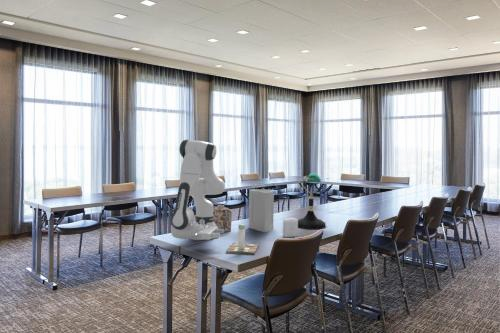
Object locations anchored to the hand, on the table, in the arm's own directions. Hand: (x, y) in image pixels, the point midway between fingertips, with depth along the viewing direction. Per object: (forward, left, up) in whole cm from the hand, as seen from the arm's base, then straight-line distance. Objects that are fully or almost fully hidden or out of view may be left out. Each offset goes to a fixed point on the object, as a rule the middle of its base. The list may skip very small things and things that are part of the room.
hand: (222, 233), depth 221 cm
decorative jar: (-49, -13, -10) cm, 52 cm away
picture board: (-4, +12, -10) cm, 16 cm away
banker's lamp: (-80, +50, -10) cm, 95 cm away
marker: (0, +12, -9) cm, 14 cm away
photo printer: (-43, +36, -10) cm, 58 cm away
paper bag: (-63, +16, -10) cm, 66 cm away
